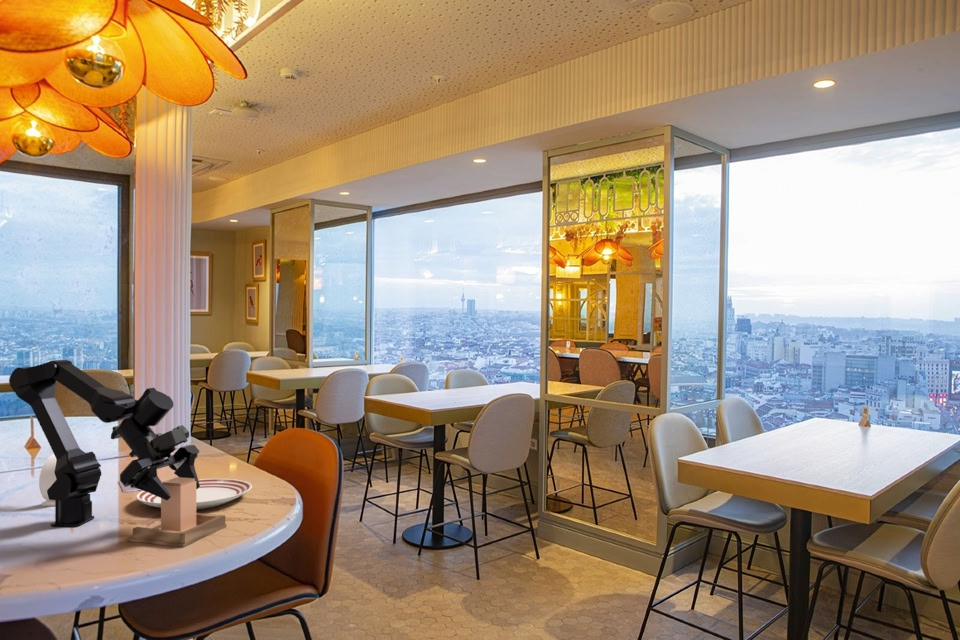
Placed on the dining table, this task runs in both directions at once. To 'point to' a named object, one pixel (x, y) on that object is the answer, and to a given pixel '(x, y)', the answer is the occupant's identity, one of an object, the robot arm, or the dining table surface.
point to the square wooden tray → (180, 532)
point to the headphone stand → (47, 479)
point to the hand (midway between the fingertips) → (184, 493)
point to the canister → (179, 505)
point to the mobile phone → (128, 488)
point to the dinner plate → (206, 493)
